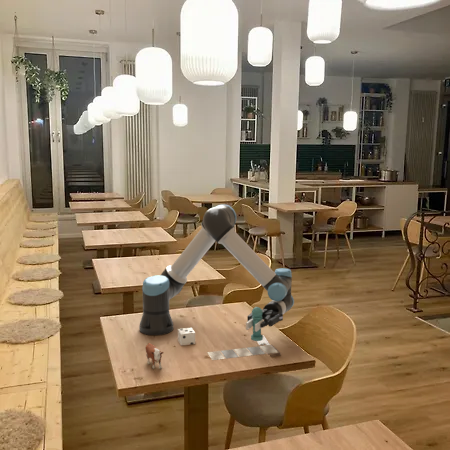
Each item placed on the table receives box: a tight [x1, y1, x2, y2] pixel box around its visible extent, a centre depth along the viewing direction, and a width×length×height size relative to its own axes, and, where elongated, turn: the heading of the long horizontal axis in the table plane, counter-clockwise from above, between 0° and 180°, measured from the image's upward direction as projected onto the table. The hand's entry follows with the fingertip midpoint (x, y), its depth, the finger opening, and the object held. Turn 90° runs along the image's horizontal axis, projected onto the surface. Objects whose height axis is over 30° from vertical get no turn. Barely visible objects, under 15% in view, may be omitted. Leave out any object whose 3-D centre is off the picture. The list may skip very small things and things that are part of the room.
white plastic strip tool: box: [256, 334, 271, 346], centre depth 207 cm, size 5×15×1 cm, turn 10°
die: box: [177, 327, 196, 346], centre depth 204 cm, size 6×6×6 cm
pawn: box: [250, 306, 264, 342], centre depth 194 cm, size 5×5×13 cm
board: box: [206, 344, 282, 361], centre depth 194 cm, size 28×9×1 cm, turn 107°
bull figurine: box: [145, 342, 164, 370], centre depth 183 cm, size 4×13×8 cm, turn 24°
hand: (251, 327), depth 189 cm, fingers closed on pawn, 3 cm apart
